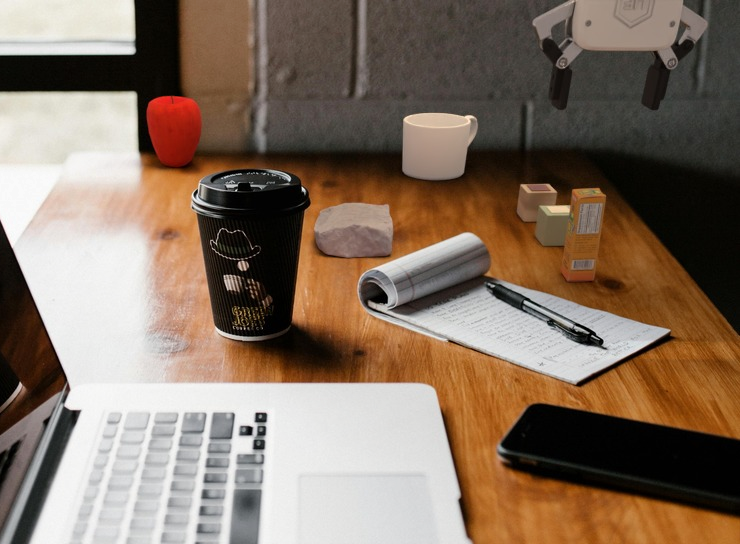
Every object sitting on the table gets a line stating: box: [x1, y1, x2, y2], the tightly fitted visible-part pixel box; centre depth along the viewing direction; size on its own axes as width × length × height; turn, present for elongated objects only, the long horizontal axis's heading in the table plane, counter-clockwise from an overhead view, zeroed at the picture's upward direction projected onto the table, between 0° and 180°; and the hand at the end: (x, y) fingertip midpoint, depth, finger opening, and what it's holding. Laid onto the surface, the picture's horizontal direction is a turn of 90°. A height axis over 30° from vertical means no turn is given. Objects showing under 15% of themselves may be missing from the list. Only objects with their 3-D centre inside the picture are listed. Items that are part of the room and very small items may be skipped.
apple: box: [146, 95, 203, 168], centre depth 141 cm, size 9×9×11 cm
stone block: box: [313, 202, 394, 259], centre depth 110 cm, size 12×5×10 cm
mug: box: [401, 112, 479, 181], centre depth 137 cm, size 13×10×8 cm
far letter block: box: [516, 183, 558, 223], centre depth 118 cm, size 4×4×4 cm
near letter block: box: [534, 204, 571, 247], centre depth 110 cm, size 4×4×4 cm
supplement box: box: [560, 187, 607, 283], centre depth 97 cm, size 3×3×10 cm
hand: (603, 107), depth 90 cm, fingers open, 9 cm apart
